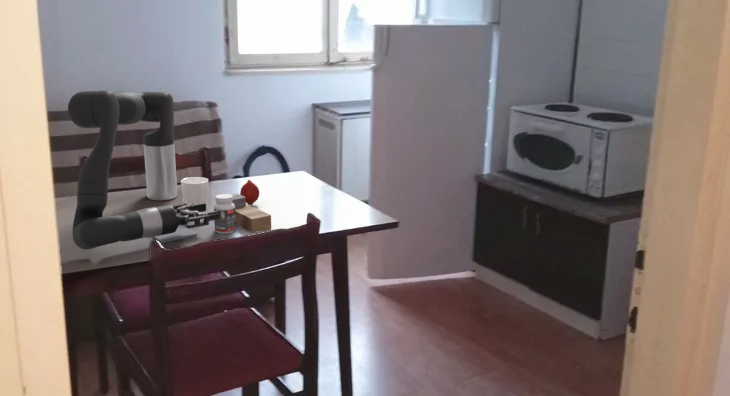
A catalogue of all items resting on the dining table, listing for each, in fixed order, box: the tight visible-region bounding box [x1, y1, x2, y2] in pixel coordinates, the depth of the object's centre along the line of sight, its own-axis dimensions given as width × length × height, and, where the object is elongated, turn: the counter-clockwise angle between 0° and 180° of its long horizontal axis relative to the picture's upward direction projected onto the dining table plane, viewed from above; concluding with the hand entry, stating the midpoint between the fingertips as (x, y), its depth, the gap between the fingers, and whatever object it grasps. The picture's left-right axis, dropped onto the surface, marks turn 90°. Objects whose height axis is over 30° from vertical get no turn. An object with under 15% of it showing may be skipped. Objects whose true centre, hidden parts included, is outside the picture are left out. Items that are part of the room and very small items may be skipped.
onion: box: [239, 179, 260, 206], centre depth 227 cm, size 6×6×8 cm
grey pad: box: [152, 225, 198, 244], centre depth 200 cm, size 10×10×1 cm
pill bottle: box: [213, 193, 237, 235], centre depth 202 cm, size 6×6×10 cm
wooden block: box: [231, 193, 272, 234], centre depth 211 cm, size 20×6×6 cm, turn 38°
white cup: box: [180, 176, 209, 217], centre depth 218 cm, size 8×8×10 cm
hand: (212, 210), depth 200 cm, fingers open, 8 cm apart
